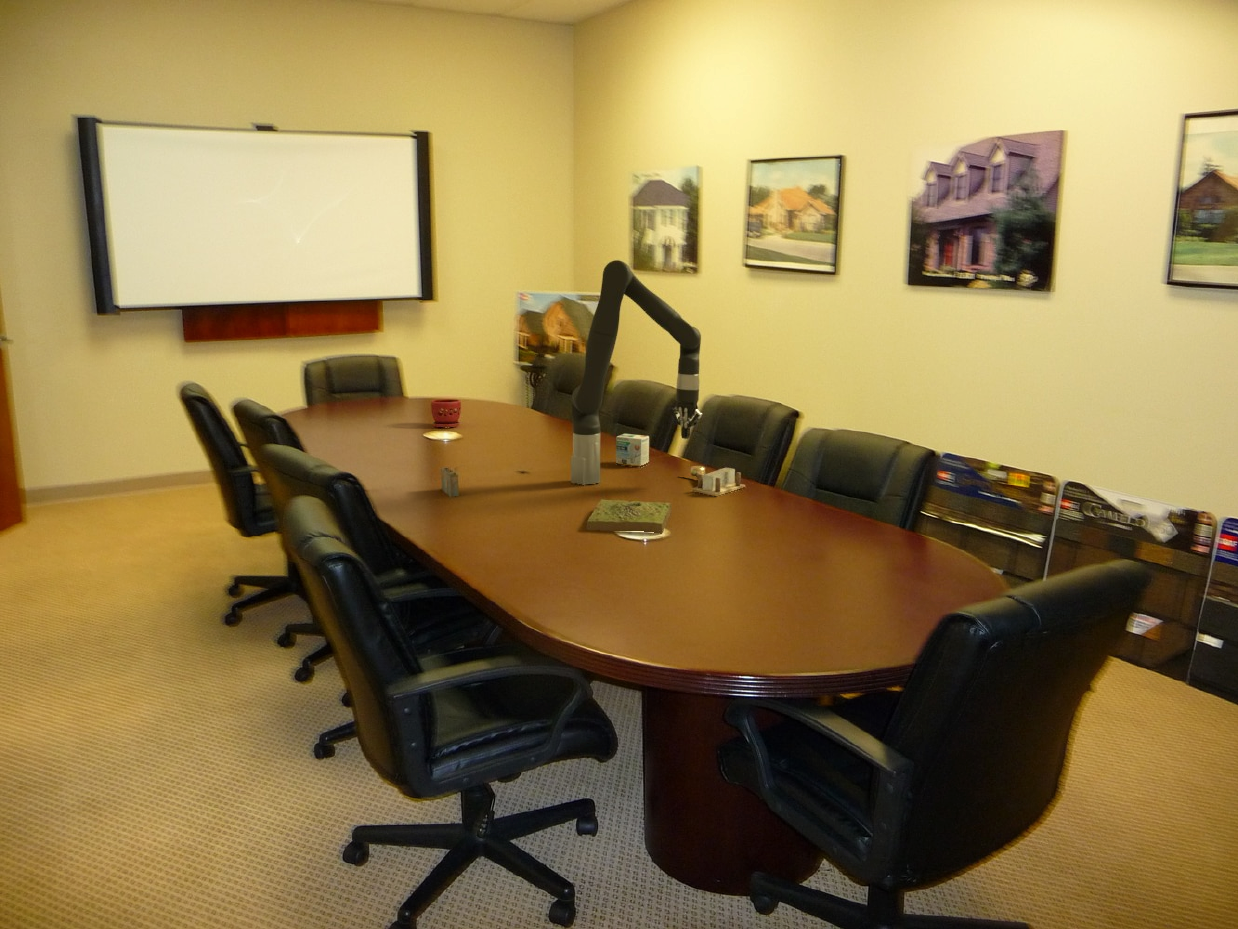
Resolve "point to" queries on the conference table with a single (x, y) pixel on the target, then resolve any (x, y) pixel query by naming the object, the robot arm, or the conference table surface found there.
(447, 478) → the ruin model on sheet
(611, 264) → the robot arm
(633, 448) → the light bulb box
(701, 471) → the beige long bar
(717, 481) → the peg rack
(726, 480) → the grey rectangular block
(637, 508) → the miniature landscape model
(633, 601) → the conference table surface
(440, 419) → the plant pot
